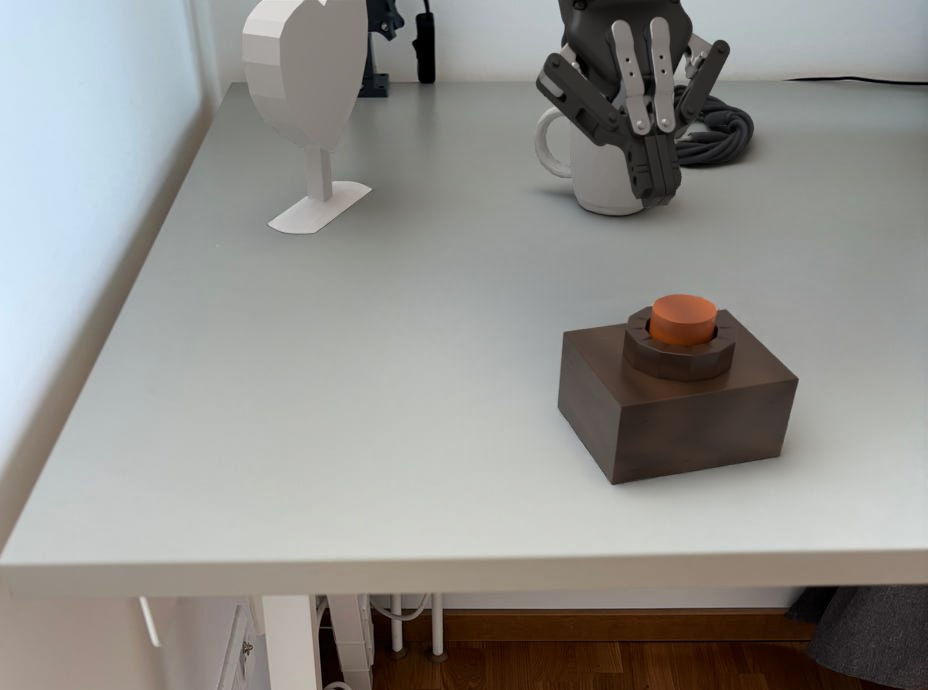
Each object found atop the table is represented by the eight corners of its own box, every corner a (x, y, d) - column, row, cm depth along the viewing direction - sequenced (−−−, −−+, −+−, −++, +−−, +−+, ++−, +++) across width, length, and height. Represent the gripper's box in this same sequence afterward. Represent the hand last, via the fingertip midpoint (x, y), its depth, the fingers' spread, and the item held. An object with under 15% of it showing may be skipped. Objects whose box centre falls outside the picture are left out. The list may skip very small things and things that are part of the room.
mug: (671, 195, 105) (686, 83, 98) (643, 228, 99) (657, 111, 92) (548, 174, 109) (555, 65, 102) (514, 205, 103) (519, 92, 96)
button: (695, 316, 71) (699, 290, 70) (723, 344, 68) (728, 318, 67) (638, 323, 70) (642, 298, 69) (665, 352, 67) (668, 326, 66)
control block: (712, 382, 79) (730, 283, 74) (780, 456, 72) (806, 352, 67) (557, 406, 76) (564, 305, 71) (611, 485, 69) (624, 379, 64)
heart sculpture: (336, 174, 109) (323, -33, 97) (381, 182, 107) (373, -27, 95) (255, 231, 98) (228, 7, 86) (303, 241, 97) (283, 14, 85)
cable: (641, 107, 125) (645, 66, 122) (764, 122, 121) (772, 79, 118) (602, 157, 113) (606, 112, 110) (737, 174, 109) (746, 129, 106)
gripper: (523, -103, 64) (581, 184, 64) (727, -113, 67) (784, 162, 66) (492, -20, 71) (544, 238, 71) (678, -32, 74) (729, 216, 74)
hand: (660, 201), depth 69 cm, fingers closed
